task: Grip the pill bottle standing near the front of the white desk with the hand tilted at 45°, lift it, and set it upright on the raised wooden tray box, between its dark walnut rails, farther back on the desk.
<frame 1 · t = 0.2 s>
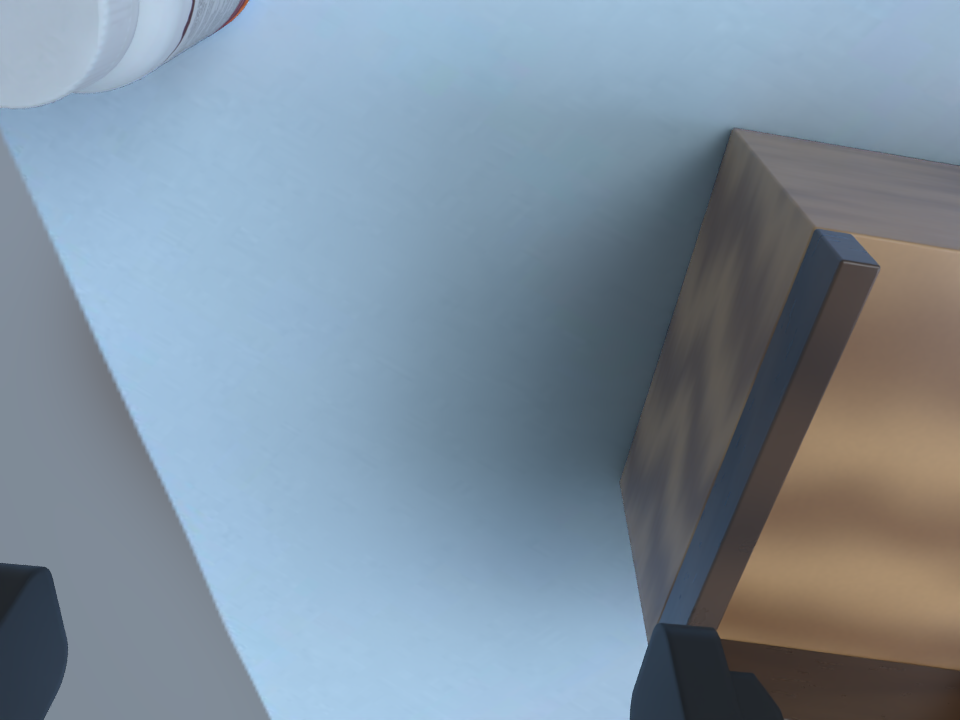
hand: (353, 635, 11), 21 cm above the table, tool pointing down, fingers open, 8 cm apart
wooden tray box: (839, 353, 33), on the table
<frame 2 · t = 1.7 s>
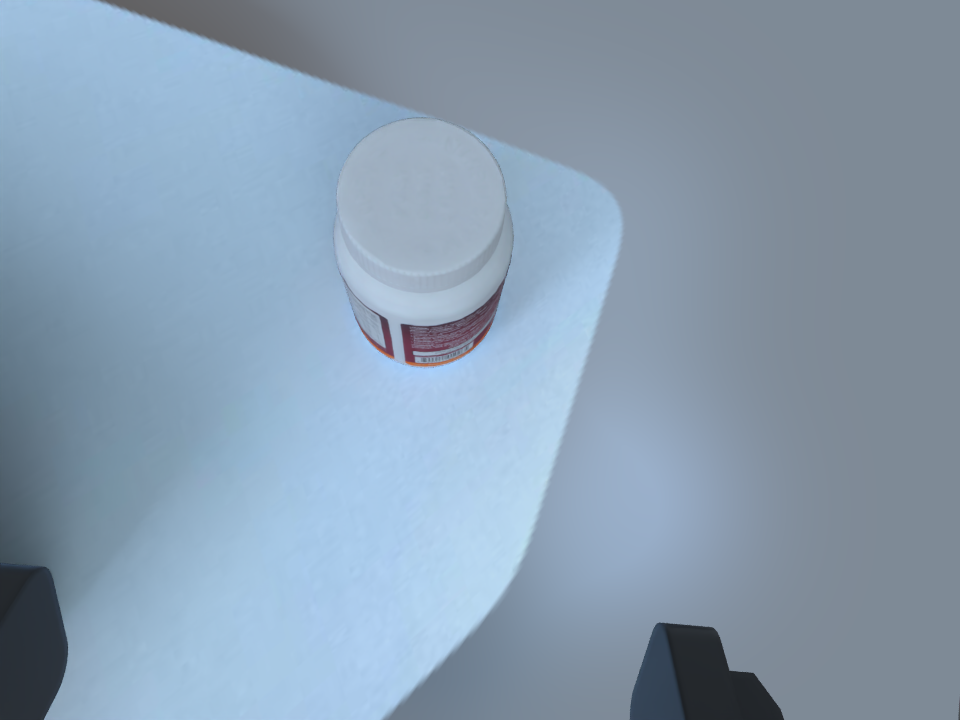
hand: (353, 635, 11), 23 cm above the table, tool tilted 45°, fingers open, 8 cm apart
pill bottle: (424, 302, 36), on the table
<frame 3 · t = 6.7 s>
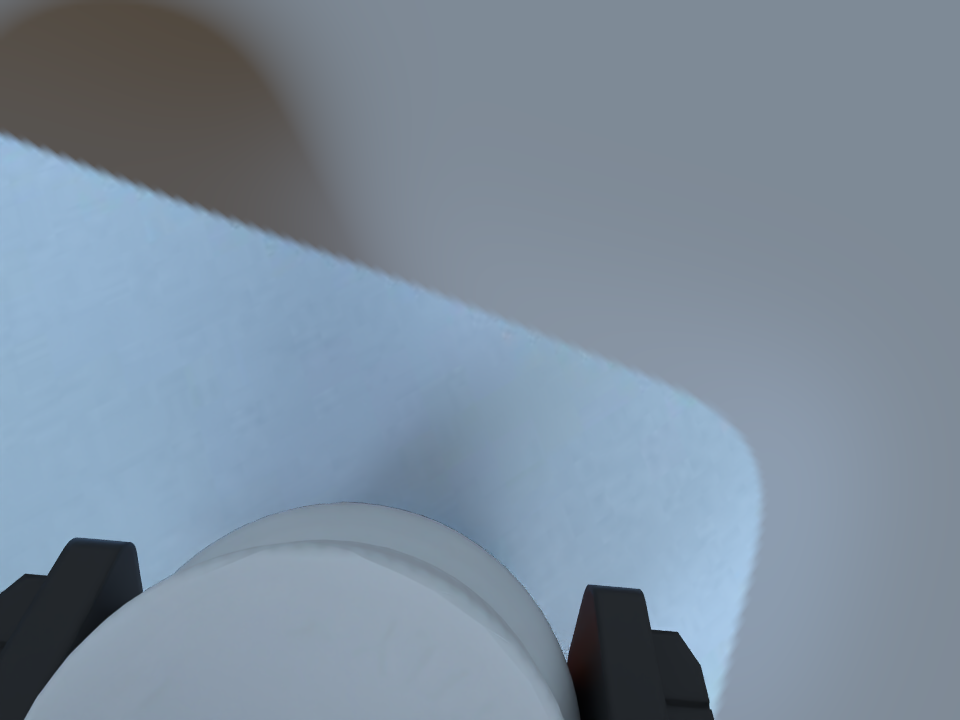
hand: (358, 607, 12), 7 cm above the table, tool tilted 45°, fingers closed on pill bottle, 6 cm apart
pill bottle: (375, 663, 18), on the table, touching gripper
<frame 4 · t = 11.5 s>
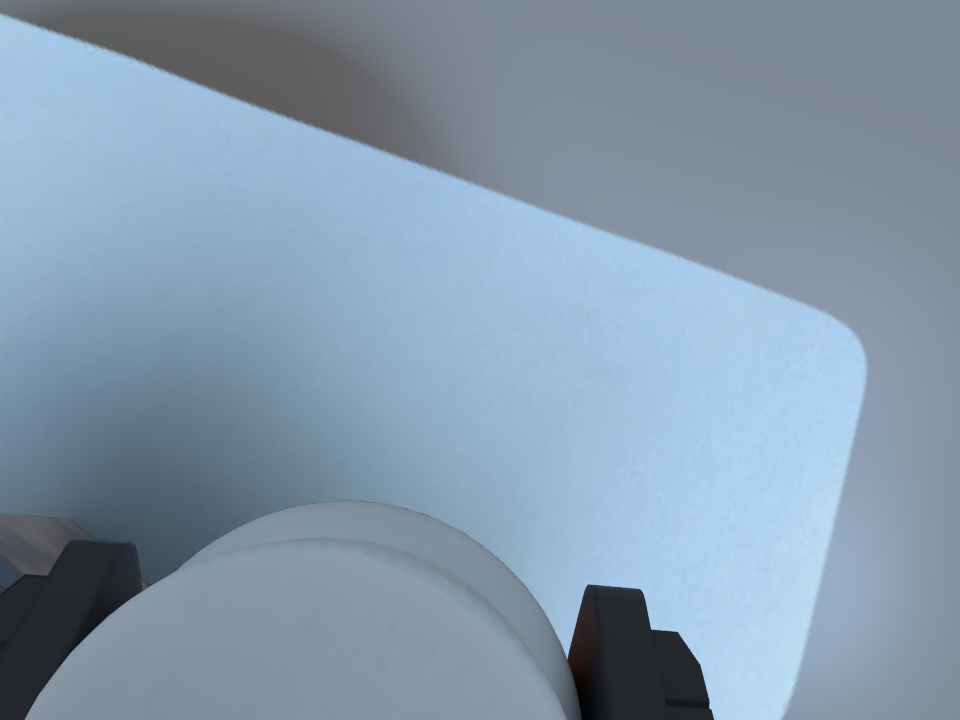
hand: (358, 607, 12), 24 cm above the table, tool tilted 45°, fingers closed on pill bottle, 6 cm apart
pill bottle: (375, 662, 18), point 17 cm above the table, touching gripper
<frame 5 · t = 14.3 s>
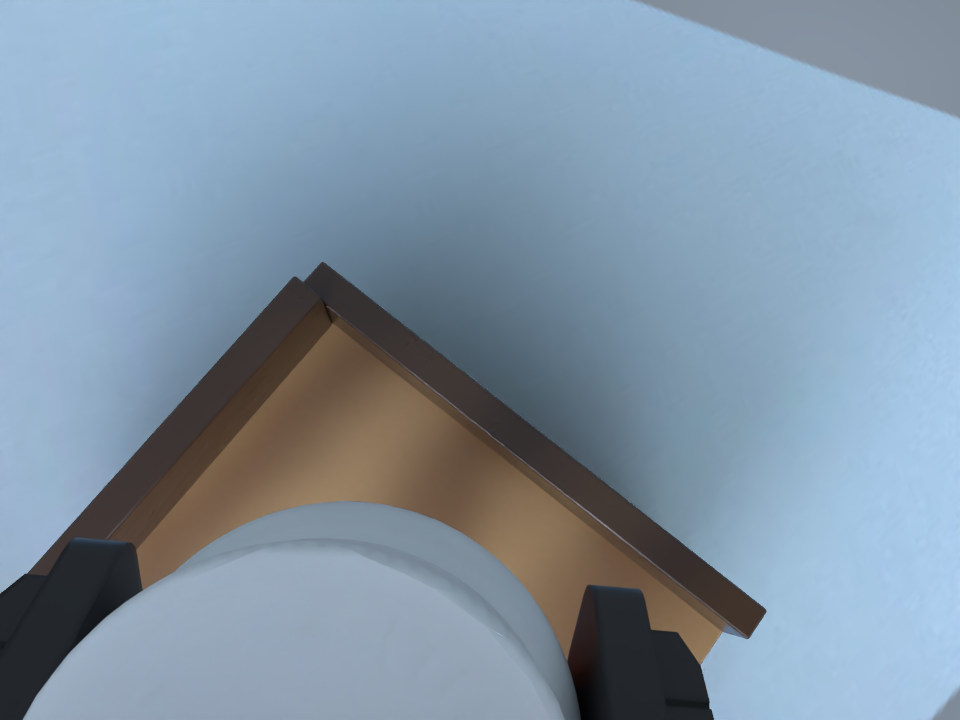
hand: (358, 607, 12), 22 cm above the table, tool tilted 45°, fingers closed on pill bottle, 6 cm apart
wooden tray box: (394, 604, 33), on the table
pill bottle: (375, 663, 18), point 15 cm above the table, touching gripper
when the fingers open (16 cm above the table, at t = 16.6 s): pill bottle stays where it is, resting on wooden tray box.
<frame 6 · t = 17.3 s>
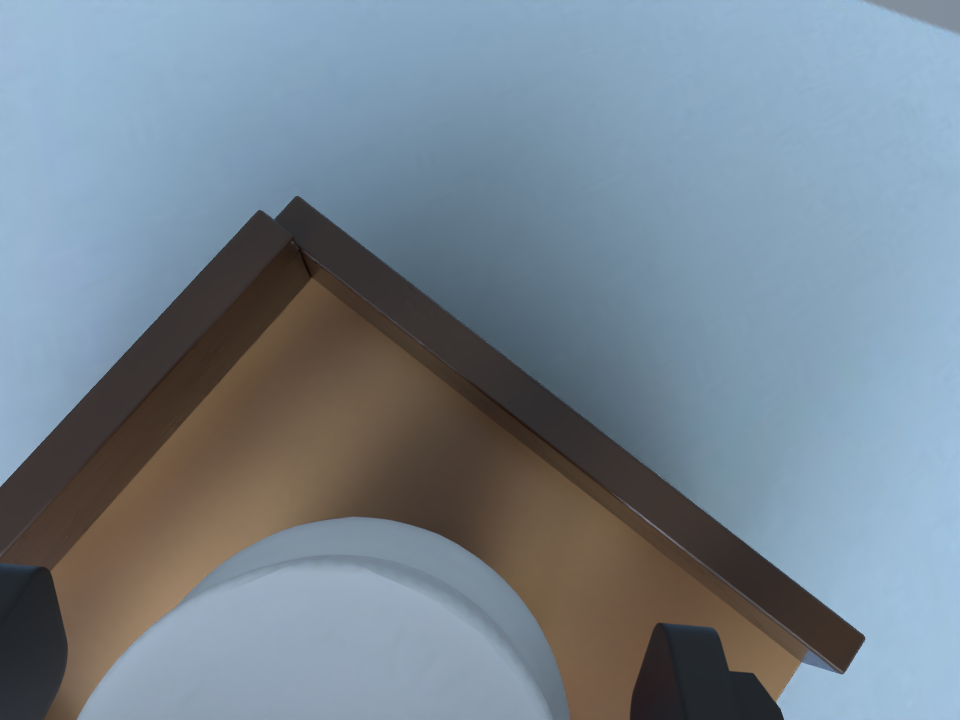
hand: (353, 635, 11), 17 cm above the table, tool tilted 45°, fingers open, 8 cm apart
wooden tray box: (390, 622, 28), on the table
pill bottle: (379, 663, 19), point 9 cm above the table, touching wooden tray box
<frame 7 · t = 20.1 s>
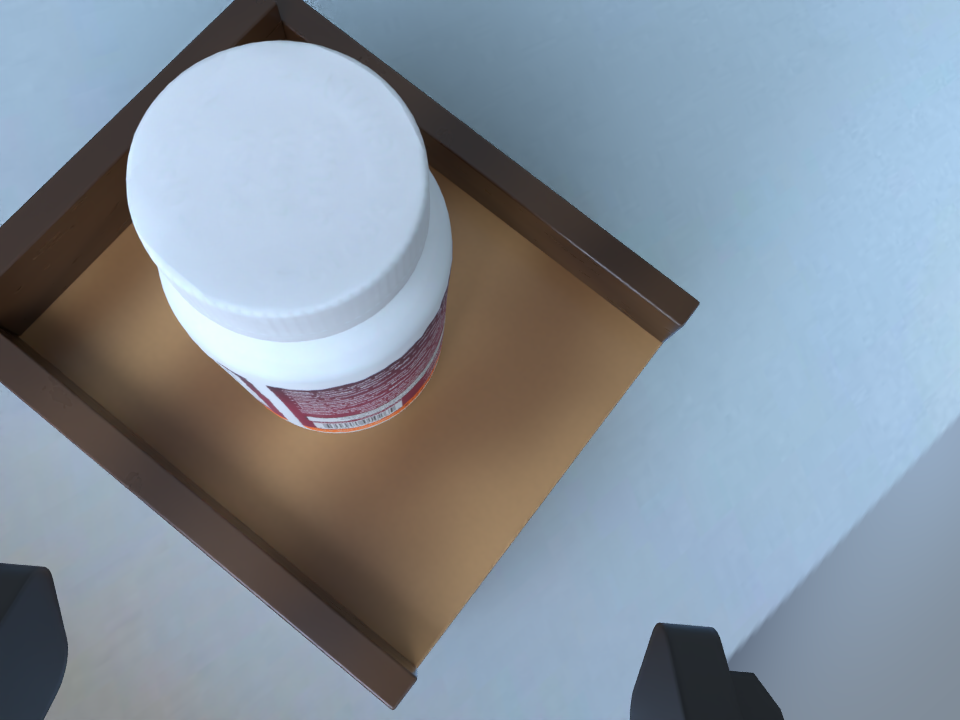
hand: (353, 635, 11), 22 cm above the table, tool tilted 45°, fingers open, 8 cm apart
wooden tray box: (357, 387, 34), on the table
pill bottle: (340, 337, 25), point 9 cm above the table, touching wooden tray box
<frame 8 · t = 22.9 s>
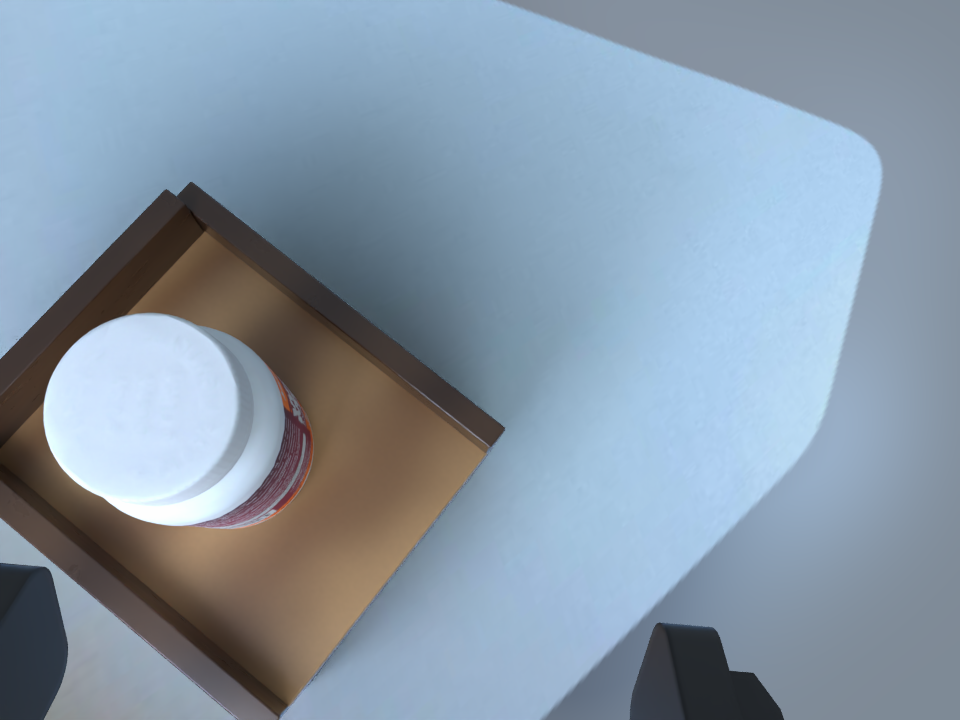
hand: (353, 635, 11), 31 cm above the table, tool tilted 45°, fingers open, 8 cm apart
wooden tray box: (275, 468, 42), on the table
pill bottle: (238, 451, 33), point 9 cm above the table, touching wooden tray box
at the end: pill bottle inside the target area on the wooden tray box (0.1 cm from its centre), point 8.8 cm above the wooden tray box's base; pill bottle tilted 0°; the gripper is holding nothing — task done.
